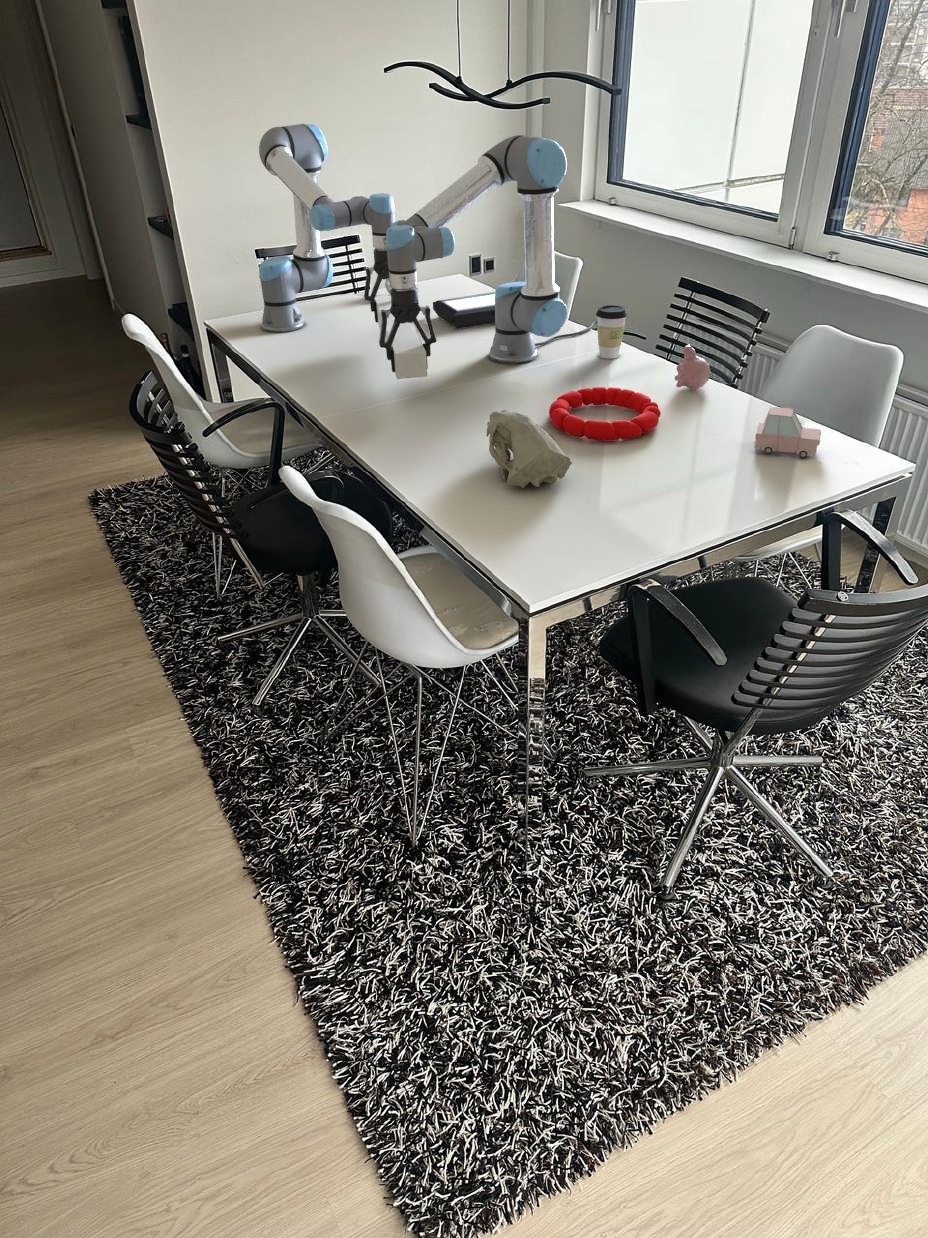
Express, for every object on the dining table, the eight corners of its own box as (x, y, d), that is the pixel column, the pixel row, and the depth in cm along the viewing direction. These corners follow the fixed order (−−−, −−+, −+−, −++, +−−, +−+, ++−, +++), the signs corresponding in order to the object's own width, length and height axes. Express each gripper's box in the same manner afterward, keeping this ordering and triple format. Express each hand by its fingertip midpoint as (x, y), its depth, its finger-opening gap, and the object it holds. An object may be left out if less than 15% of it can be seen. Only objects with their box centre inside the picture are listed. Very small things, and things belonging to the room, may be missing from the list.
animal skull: (496, 517, 219) (521, 479, 201) (463, 429, 225) (484, 384, 207) (557, 503, 225) (586, 465, 206) (523, 417, 231) (549, 373, 212)
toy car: (816, 461, 219) (824, 423, 213) (752, 454, 224) (758, 416, 218) (817, 446, 226) (825, 408, 221) (755, 439, 231) (761, 402, 225)
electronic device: (454, 313, 312) (432, 299, 327) (455, 331, 315) (433, 317, 330) (535, 300, 322) (510, 288, 337) (534, 318, 326) (510, 305, 341)
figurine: (665, 387, 264) (669, 347, 257) (693, 380, 268) (698, 340, 261) (686, 396, 257) (690, 355, 250) (714, 388, 262) (720, 348, 255)
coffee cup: (626, 360, 285) (629, 312, 276) (595, 360, 285) (598, 313, 277) (622, 350, 293) (625, 303, 284) (592, 351, 293) (594, 304, 285)
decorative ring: (589, 435, 224) (684, 402, 234) (527, 398, 247) (617, 369, 256) (589, 461, 229) (683, 427, 238) (529, 422, 251) (617, 393, 260)
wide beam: (376, 317, 299) (374, 296, 295) (401, 315, 300) (399, 294, 296) (397, 379, 251) (395, 354, 247) (427, 376, 252) (426, 351, 248)
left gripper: (352, 252, 277) (359, 325, 290) (420, 248, 280) (424, 320, 293) (350, 247, 284) (357, 319, 297) (417, 242, 286) (421, 314, 299)
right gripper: (365, 294, 238) (373, 376, 251) (444, 287, 241) (448, 369, 254) (363, 287, 244) (371, 368, 257) (440, 280, 247) (444, 361, 260)
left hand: (390, 319), depth 295 cm, fingers closed on wide beam, 9 cm apart
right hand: (409, 368), depth 256 cm, fingers closed on wide beam, 9 cm apart
